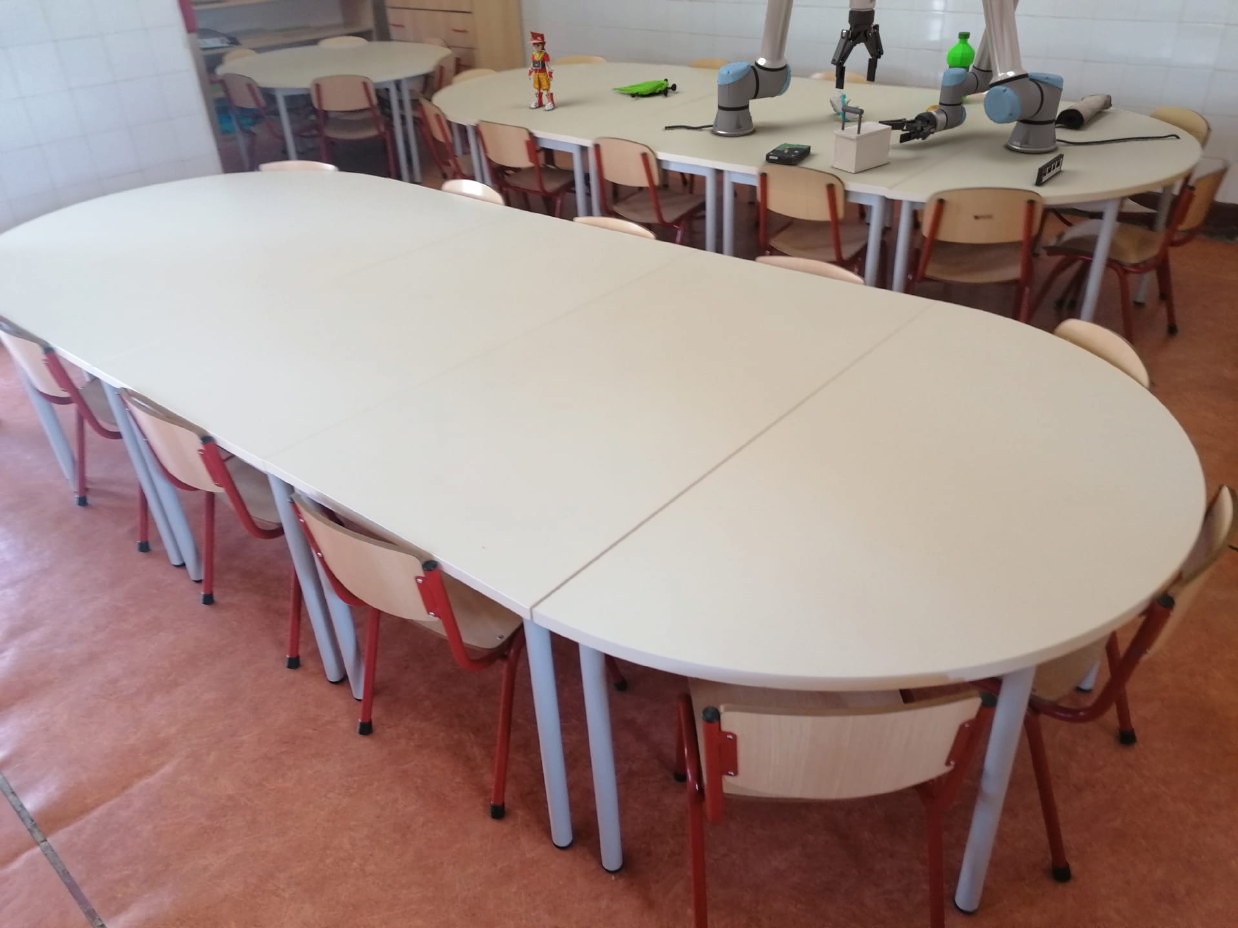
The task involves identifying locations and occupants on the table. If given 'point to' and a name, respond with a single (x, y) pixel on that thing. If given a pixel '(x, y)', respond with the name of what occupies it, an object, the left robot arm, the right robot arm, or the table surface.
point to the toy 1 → (541, 71)
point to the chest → (861, 152)
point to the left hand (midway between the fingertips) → (855, 85)
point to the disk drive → (788, 153)
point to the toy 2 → (648, 88)
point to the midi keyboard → (1049, 169)
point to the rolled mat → (1083, 110)
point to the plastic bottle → (961, 54)
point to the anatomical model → (839, 102)
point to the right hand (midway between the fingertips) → (884, 134)
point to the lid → (859, 125)
